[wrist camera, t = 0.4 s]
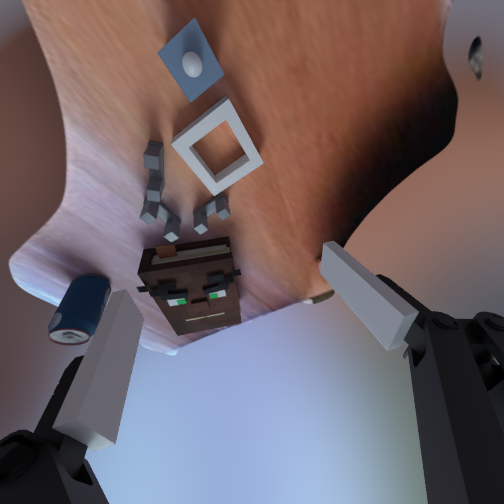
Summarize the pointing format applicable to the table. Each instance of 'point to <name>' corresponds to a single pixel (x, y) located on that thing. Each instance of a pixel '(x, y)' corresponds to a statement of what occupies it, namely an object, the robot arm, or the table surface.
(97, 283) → the soda can
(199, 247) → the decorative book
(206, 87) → the connector
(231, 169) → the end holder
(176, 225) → the clip
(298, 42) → the table surface
